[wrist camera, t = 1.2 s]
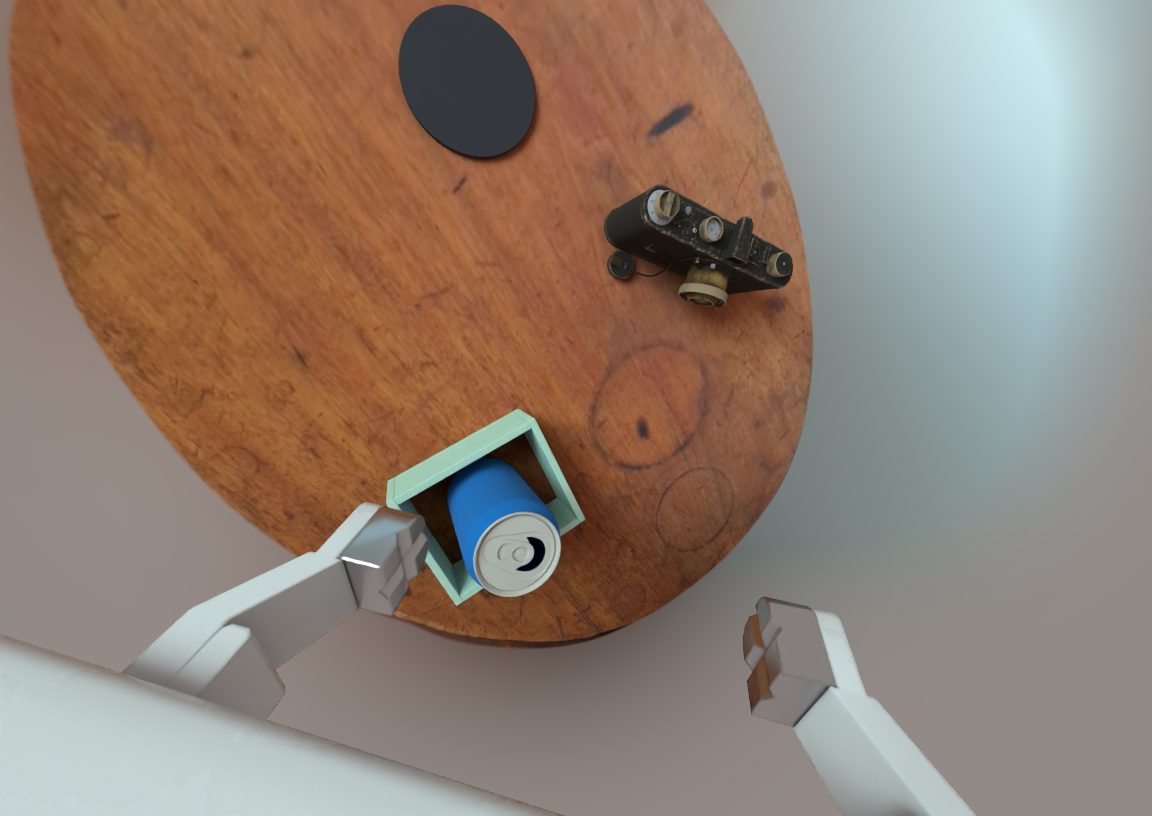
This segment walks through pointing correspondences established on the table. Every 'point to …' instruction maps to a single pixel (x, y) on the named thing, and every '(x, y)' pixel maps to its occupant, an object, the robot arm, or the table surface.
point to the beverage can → (502, 528)
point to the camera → (694, 247)
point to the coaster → (466, 81)
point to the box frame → (464, 454)
